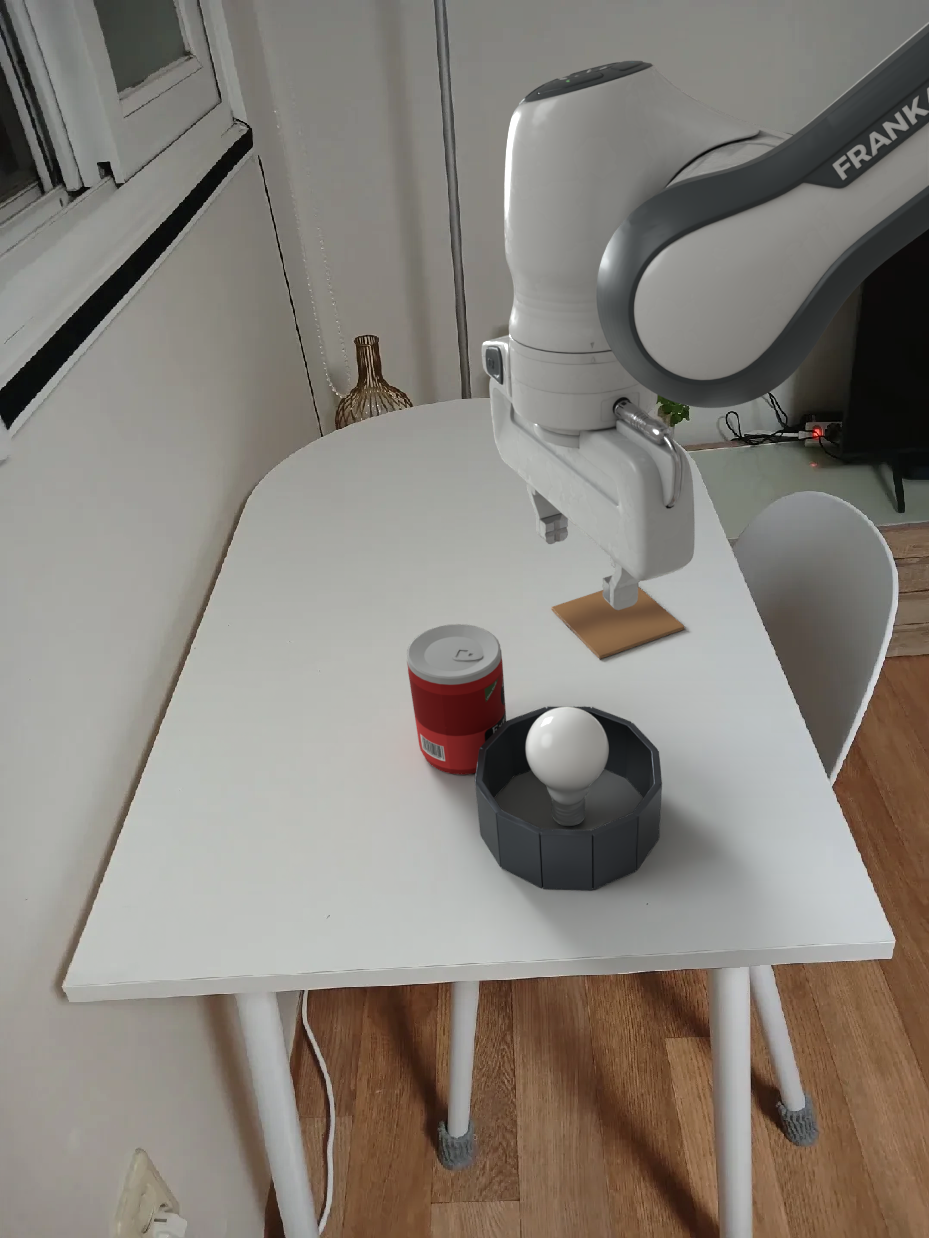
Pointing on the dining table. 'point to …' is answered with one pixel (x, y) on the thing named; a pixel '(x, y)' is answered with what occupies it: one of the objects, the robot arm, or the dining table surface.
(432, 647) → the canned food
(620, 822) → the dark grey polygonal container
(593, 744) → the lightbulb
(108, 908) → the dining table surface
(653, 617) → the coaster
